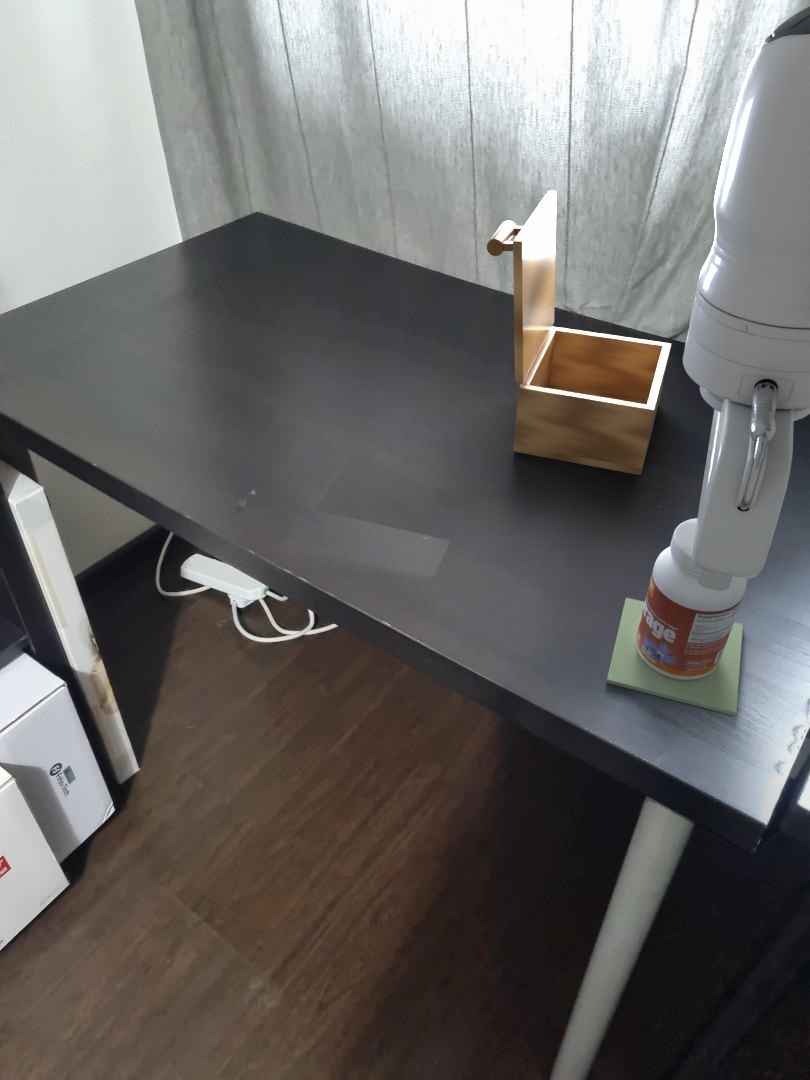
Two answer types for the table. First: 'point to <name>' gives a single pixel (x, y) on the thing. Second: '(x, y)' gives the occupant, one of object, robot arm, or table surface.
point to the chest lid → (531, 279)
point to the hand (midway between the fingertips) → (718, 534)
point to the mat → (702, 692)
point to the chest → (591, 399)
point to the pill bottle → (685, 613)
